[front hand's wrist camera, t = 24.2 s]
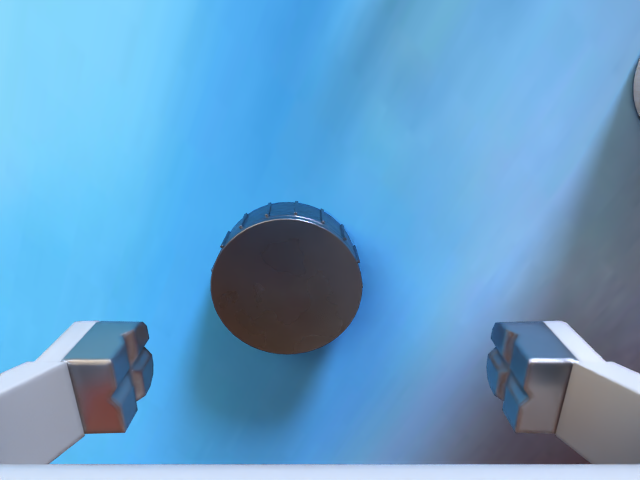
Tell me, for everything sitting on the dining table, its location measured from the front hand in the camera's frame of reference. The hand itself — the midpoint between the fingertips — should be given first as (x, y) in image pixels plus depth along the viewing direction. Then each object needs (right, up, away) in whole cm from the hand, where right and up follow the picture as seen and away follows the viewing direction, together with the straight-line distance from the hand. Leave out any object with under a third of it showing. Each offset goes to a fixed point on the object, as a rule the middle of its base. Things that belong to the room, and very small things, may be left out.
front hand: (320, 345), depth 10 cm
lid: (-1, +1, +5) cm, 5 cm away
